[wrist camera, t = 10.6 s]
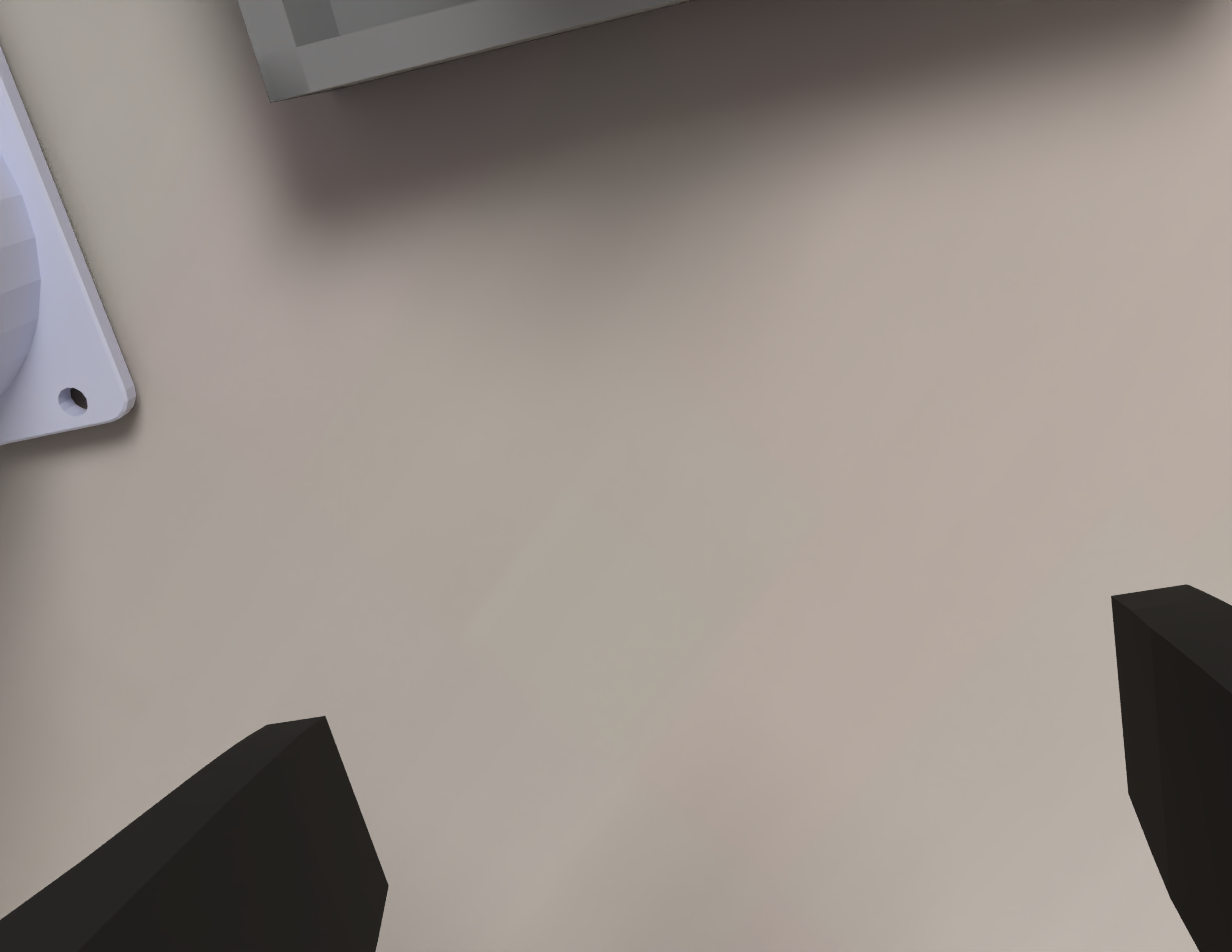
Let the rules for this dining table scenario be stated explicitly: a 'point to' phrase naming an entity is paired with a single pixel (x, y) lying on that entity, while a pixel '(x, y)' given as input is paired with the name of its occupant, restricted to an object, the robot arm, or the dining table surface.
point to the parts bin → (400, 34)
